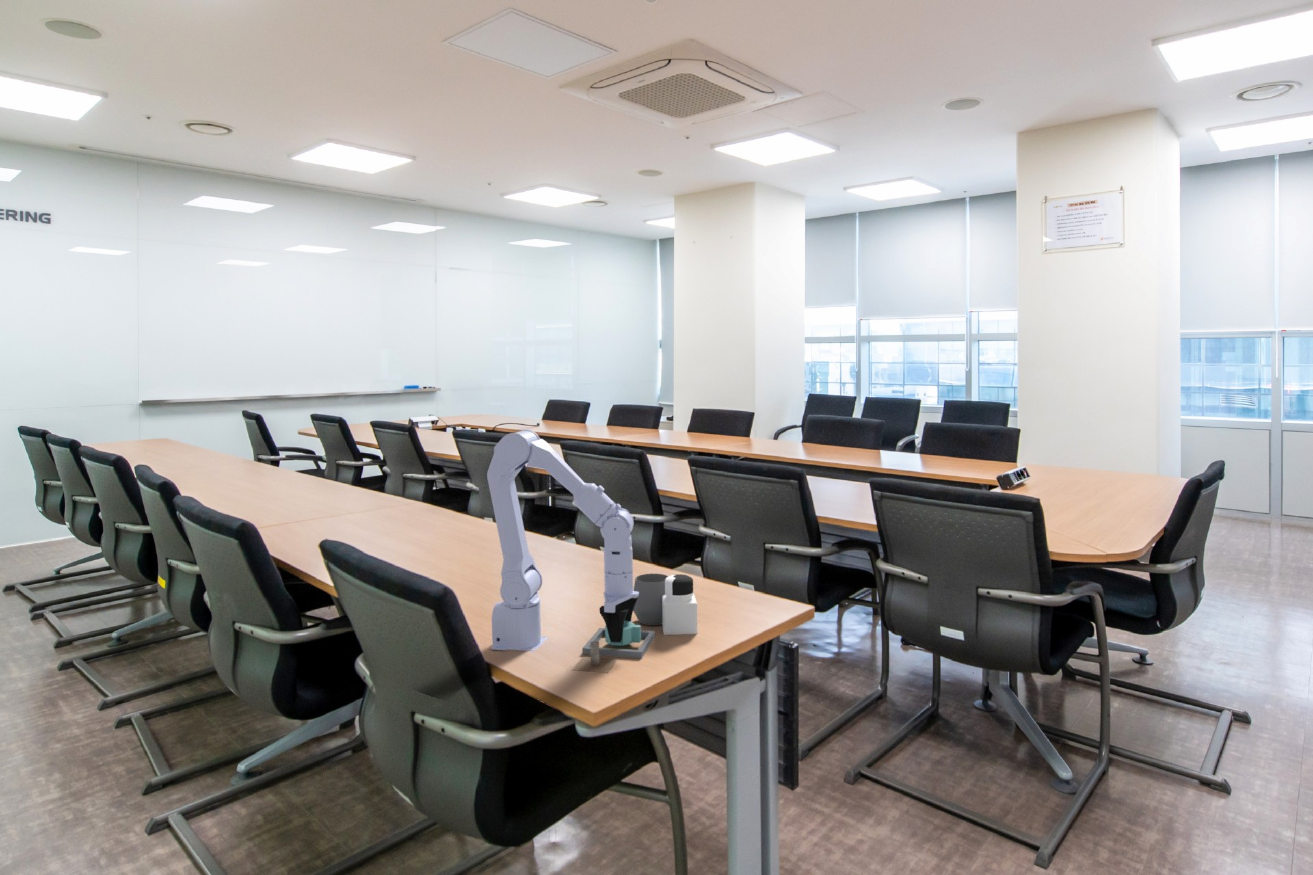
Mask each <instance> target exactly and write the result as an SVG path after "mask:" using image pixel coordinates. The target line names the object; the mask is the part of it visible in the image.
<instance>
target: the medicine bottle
mask: <svg viewBox="0 0 1313 875" xmlns="http://www.w3.org/2000/svg"><path fill="white" fill-rule="evenodd" d="M661 625H662V632H663V635H664V636H667V635H668V636H669V635H697V634H698V602H697V599H696V595H695V594H694V579H693V577H691V576H690V575H686V574H672V575H669V577H667V578H666V579H665V595H663V596H662V624H661Z"/></svg>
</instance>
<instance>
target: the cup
mask: <svg viewBox="0 0 1313 875" xmlns="http://www.w3.org/2000/svg"><path fill="white" fill-rule="evenodd" d="M669 576H670V575H669ZM669 576H668V575H667V574H663V573H654V572H653V573H645V574H639V575H637V576H636V577H634V578H635V579H634V583H633V590H634V591H637V592H639V596H638V600H637V602H636V604H635V606H634V609H633V613H634V616H635V617H636V618H637V621H638V622H639V623H641V625H642V624H643V625H646V626H660V625H662V596H663V595H665V579H666V578H667V577H669Z"/></svg>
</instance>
